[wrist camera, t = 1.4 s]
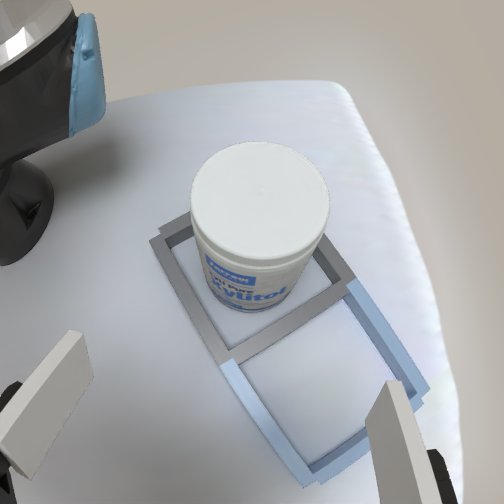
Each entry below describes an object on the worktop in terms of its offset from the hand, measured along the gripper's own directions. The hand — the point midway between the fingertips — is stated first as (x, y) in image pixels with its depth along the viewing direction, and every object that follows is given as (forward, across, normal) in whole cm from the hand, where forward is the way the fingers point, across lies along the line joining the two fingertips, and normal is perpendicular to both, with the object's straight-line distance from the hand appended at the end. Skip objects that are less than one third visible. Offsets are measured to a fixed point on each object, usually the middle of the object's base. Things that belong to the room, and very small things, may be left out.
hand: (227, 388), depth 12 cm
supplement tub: (+22, 0, -5) cm, 22 cm away
